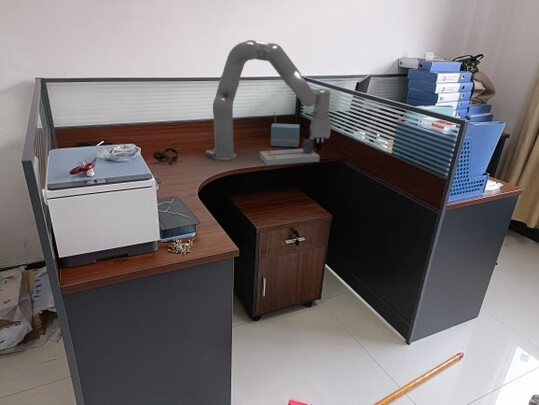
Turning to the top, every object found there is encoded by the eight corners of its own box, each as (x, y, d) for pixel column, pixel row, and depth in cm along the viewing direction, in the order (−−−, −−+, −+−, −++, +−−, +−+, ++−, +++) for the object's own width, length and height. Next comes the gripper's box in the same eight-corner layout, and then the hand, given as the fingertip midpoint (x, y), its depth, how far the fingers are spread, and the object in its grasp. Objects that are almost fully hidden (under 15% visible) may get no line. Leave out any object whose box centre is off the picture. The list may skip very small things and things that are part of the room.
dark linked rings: (173, 158, 202) (177, 146, 197) (176, 171, 196) (181, 159, 191) (149, 155, 195) (154, 143, 190) (152, 169, 190) (157, 156, 185)
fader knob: (306, 153, 201) (306, 141, 199) (302, 150, 205) (303, 139, 203) (312, 152, 202) (312, 141, 199) (308, 150, 206) (309, 139, 204)
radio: (298, 144, 229) (300, 109, 221) (298, 148, 221) (300, 113, 213) (272, 142, 231) (272, 108, 222) (270, 147, 222) (271, 112, 214)
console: (266, 165, 193) (267, 159, 191) (259, 157, 205) (259, 151, 204) (319, 161, 200) (319, 155, 199) (309, 153, 212) (309, 148, 211)
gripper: (310, 116, 192) (307, 152, 200) (337, 115, 196) (334, 150, 204) (304, 113, 199) (302, 148, 206) (331, 112, 203) (328, 146, 210)
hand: (318, 149), depth 205 cm, fingers closed
